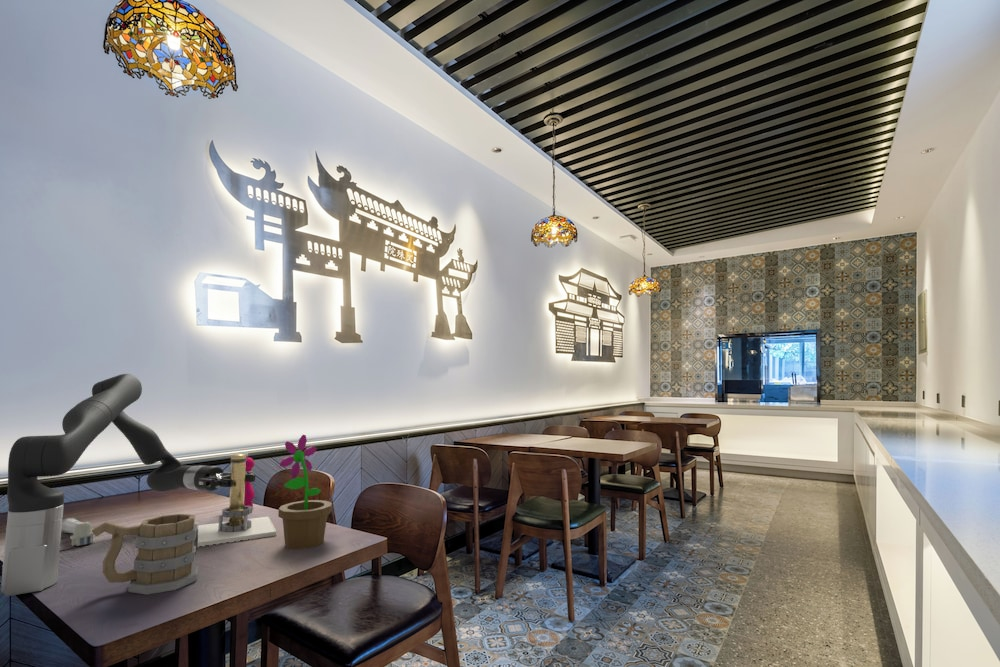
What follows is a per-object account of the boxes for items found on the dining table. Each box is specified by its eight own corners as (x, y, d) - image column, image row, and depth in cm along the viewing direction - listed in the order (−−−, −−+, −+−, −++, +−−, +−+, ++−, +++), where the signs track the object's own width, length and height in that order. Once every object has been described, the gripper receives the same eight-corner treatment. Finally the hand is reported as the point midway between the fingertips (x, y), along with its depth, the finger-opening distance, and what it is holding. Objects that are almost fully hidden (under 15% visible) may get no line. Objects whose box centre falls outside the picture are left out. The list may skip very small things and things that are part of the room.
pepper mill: (229, 511, 175) (232, 454, 177) (234, 507, 182) (237, 452, 184) (251, 510, 177) (254, 453, 179) (255, 505, 184) (258, 451, 186)
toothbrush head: (77, 516, 157) (97, 517, 142) (76, 538, 156) (96, 542, 140) (56, 519, 153) (74, 521, 138) (54, 542, 152) (72, 546, 136)
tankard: (198, 568, 121) (202, 505, 122) (195, 587, 110) (199, 517, 111) (95, 584, 111) (100, 516, 113) (79, 606, 100) (85, 530, 102)
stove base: (276, 535, 147) (277, 511, 148) (197, 547, 137) (199, 521, 138) (268, 520, 164) (269, 498, 165) (197, 529, 154) (199, 506, 155)
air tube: (244, 528, 150) (247, 454, 152) (228, 531, 148) (231, 456, 150) (243, 525, 154) (246, 453, 156) (227, 527, 151) (230, 454, 154)
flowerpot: (309, 532, 150) (312, 432, 153) (342, 540, 142) (344, 434, 146) (265, 546, 138) (270, 436, 141) (299, 554, 130) (303, 439, 133)
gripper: (183, 469, 150) (224, 472, 145) (223, 462, 164) (262, 464, 159) (182, 494, 150) (223, 498, 144) (222, 485, 163) (260, 488, 158)
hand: (243, 480), depth 151 cm, fingers open, 8 cm apart
